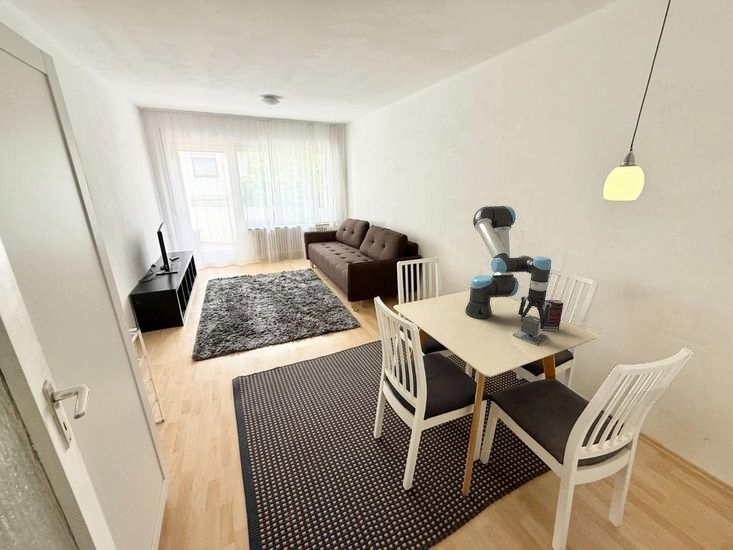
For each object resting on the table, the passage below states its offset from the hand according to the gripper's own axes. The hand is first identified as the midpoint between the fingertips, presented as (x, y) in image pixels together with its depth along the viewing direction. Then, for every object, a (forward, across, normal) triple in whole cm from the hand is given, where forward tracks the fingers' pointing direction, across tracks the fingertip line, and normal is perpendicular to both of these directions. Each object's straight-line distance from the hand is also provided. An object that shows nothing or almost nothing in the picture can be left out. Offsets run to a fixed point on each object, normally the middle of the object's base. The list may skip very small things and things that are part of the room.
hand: (531, 331), depth 150 cm
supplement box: (+4, +1, +17) cm, 18 cm away
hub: (+3, 0, 0) cm, 3 cm away
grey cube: (0, 0, 0) cm, 0 cm away
